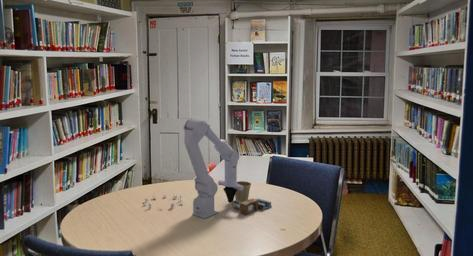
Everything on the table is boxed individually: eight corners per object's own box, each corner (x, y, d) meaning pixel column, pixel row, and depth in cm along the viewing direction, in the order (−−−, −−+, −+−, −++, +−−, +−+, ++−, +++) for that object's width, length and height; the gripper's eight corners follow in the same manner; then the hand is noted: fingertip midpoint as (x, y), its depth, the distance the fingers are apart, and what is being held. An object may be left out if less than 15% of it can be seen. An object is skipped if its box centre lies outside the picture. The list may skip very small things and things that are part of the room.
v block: (262, 210, 203) (262, 205, 203) (249, 206, 208) (249, 201, 208) (271, 206, 208) (271, 201, 208) (258, 203, 213) (258, 198, 213)
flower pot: (251, 203, 213) (251, 186, 212) (232, 203, 213) (232, 186, 212) (251, 197, 222) (251, 181, 221) (232, 197, 223) (232, 181, 221)
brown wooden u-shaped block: (245, 215, 197) (245, 204, 196) (239, 213, 199) (239, 203, 198) (258, 210, 204) (258, 199, 203) (252, 208, 206) (252, 198, 205)
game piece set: (188, 208, 208) (188, 200, 207) (146, 213, 200) (145, 205, 200) (178, 196, 226) (177, 189, 225) (139, 200, 218) (138, 193, 218)
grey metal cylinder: (254, 211, 202) (254, 203, 201) (249, 214, 199) (249, 206, 198) (238, 207, 208) (238, 199, 207) (232, 209, 205) (232, 201, 205)
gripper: (247, 175, 205) (247, 203, 207) (225, 170, 214) (225, 197, 216) (238, 178, 199) (238, 206, 201) (215, 173, 209) (215, 200, 211)
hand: (230, 202), depth 208 cm, fingers closed
